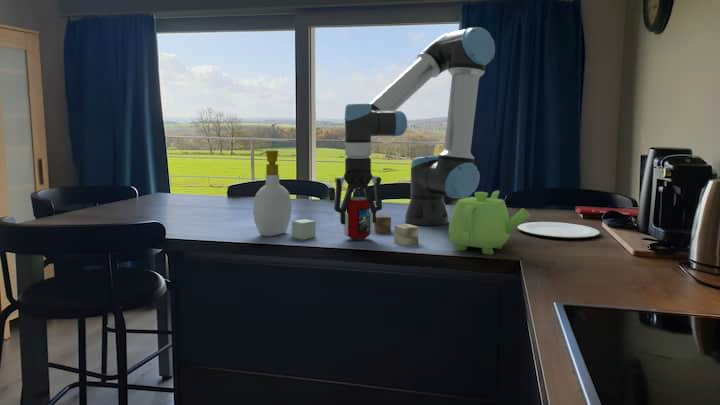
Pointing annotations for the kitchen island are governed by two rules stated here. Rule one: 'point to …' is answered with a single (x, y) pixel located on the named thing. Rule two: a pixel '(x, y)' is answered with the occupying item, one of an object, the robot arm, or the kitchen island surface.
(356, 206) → the beverage can
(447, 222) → the robot arm
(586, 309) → the kitchen island surface
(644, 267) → the kitchen island surface
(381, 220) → the walnut cube
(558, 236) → the plate
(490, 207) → the teapot
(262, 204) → the soap bottle
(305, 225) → the sage painted cube
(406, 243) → the maple cube
